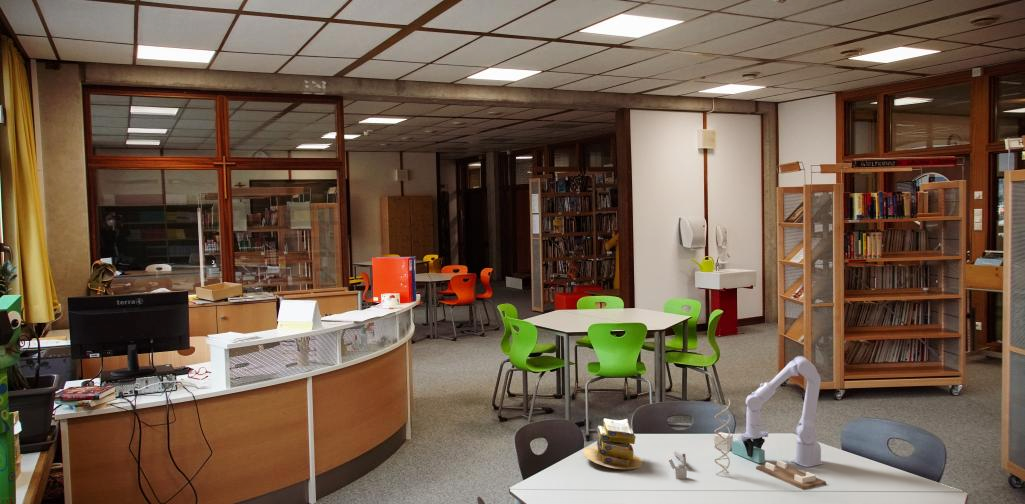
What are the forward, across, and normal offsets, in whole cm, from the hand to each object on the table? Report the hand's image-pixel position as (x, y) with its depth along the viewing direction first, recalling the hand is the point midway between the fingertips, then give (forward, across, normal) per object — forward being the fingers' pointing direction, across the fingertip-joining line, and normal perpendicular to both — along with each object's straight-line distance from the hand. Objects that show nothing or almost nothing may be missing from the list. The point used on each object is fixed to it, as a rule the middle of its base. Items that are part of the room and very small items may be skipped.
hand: (753, 455), depth 296 cm
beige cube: (+2, 0, -18) cm, 18 cm away
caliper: (+2, +28, -13) cm, 31 cm away
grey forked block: (+2, +41, +2) cm, 41 cm away
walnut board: (+2, 0, +20) cm, 20 cm away
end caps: (+2, 0, +20) cm, 20 cm away
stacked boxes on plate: (+2, +54, -25) cm, 59 cm away
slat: (+2, 0, -3) cm, 3 cm away
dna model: (+2, +22, +6) cm, 23 cm away
